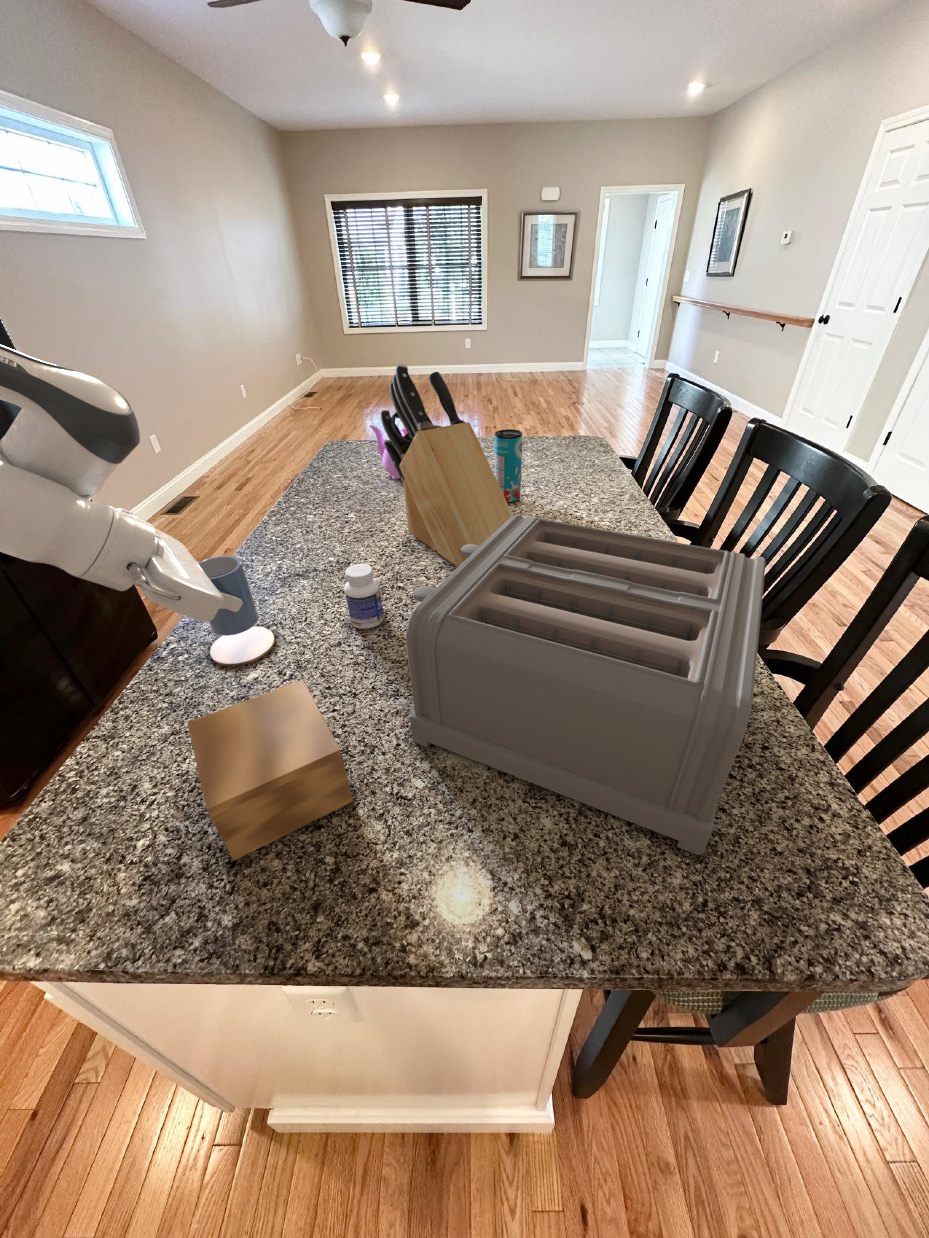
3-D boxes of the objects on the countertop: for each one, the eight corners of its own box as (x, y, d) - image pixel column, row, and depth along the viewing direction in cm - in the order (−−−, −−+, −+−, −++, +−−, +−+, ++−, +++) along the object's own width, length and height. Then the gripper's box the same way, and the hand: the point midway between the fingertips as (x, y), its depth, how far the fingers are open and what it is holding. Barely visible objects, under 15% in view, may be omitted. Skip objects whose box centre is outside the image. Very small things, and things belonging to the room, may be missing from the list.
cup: (215, 641, 70) (193, 584, 64) (207, 618, 74) (186, 563, 69) (263, 625, 72) (245, 569, 67) (253, 605, 77) (235, 551, 72)
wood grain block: (233, 861, 48) (206, 809, 44) (211, 773, 57) (187, 722, 52) (353, 801, 53) (340, 749, 49) (317, 728, 62) (302, 678, 57)
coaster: (216, 674, 71) (215, 672, 70) (205, 641, 77) (205, 639, 77) (281, 651, 74) (281, 649, 74) (266, 621, 81) (265, 619, 80)
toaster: (492, 602, 83) (492, 500, 73) (732, 662, 69) (772, 547, 59) (383, 730, 61) (362, 609, 51) (702, 857, 47) (758, 724, 37)
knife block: (432, 506, 116) (421, 354, 99) (531, 568, 92) (540, 381, 74) (387, 519, 112) (367, 362, 94) (479, 587, 87) (475, 392, 69)
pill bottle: (387, 624, 79) (380, 574, 74) (354, 633, 77) (344, 582, 72) (379, 607, 83) (372, 558, 78) (347, 615, 81) (337, 565, 76)
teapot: (361, 479, 132) (354, 431, 125) (389, 462, 143) (384, 417, 136) (430, 488, 126) (427, 438, 119) (454, 470, 136) (452, 422, 129)
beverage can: (517, 506, 115) (519, 437, 107) (491, 503, 117) (491, 436, 108) (522, 496, 120) (525, 430, 111) (498, 494, 121) (498, 428, 113)
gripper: (154, 561, 53) (268, 605, 64) (119, 503, 67) (218, 548, 77) (124, 612, 54) (243, 647, 64) (95, 545, 67) (197, 583, 78)
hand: (229, 592), depth 71 cm, fingers closed on cup, 6 cm apart
